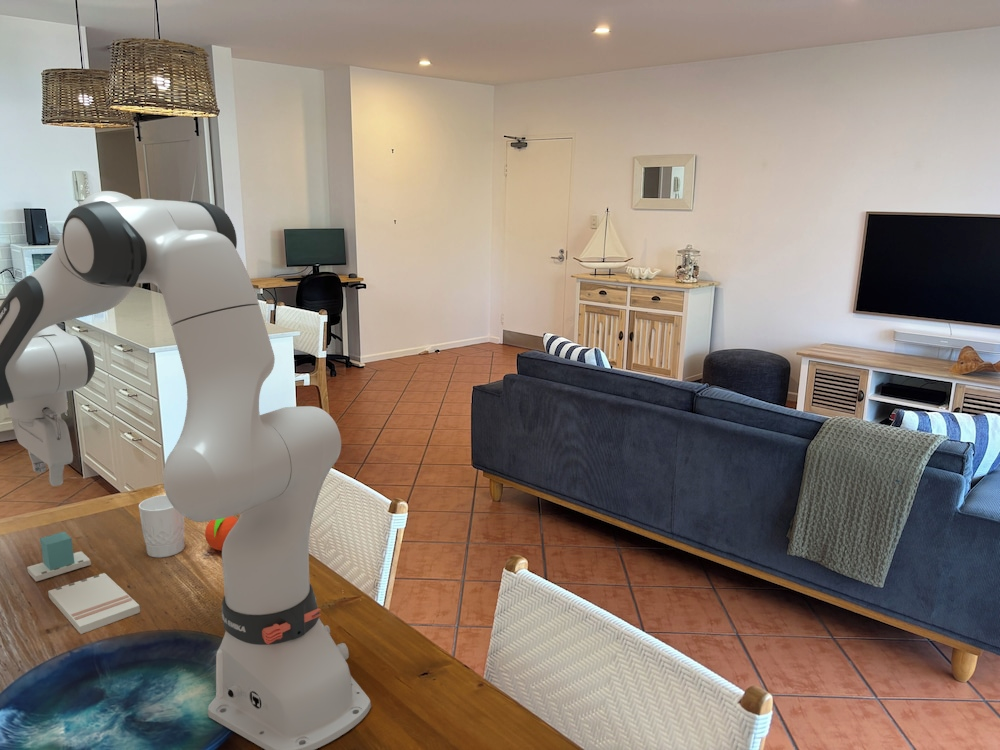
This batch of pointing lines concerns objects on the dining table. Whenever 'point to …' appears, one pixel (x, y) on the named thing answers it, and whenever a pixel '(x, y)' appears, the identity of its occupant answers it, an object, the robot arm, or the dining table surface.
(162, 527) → the white cup
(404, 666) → the dining table surface
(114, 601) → the ticket
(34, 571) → the stub
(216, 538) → the clementine
